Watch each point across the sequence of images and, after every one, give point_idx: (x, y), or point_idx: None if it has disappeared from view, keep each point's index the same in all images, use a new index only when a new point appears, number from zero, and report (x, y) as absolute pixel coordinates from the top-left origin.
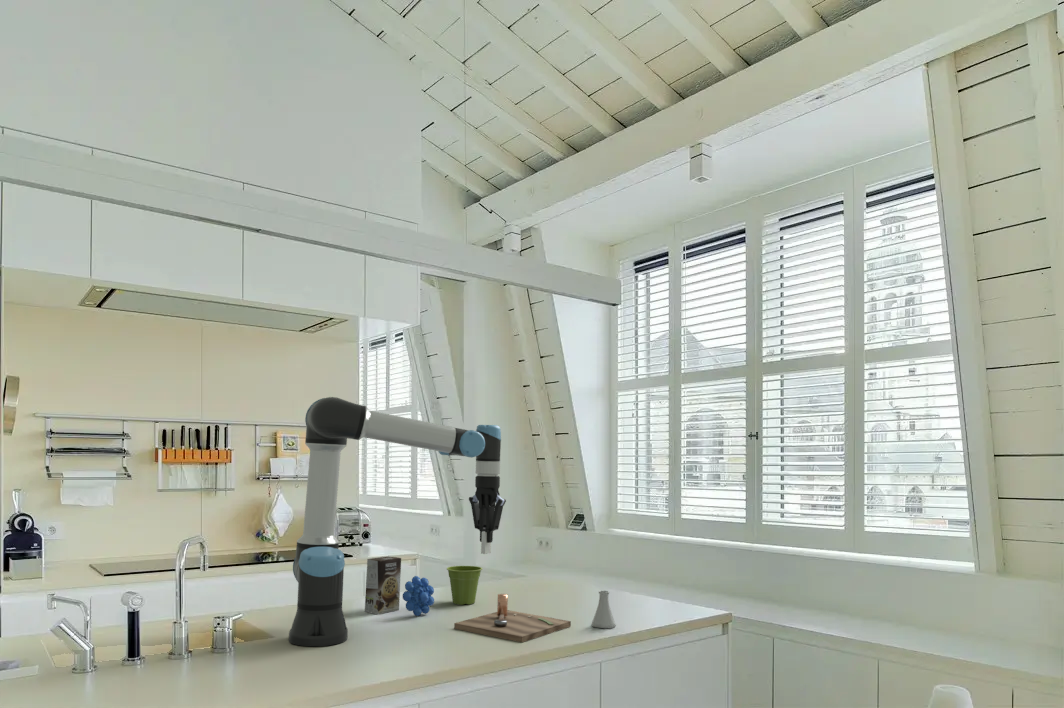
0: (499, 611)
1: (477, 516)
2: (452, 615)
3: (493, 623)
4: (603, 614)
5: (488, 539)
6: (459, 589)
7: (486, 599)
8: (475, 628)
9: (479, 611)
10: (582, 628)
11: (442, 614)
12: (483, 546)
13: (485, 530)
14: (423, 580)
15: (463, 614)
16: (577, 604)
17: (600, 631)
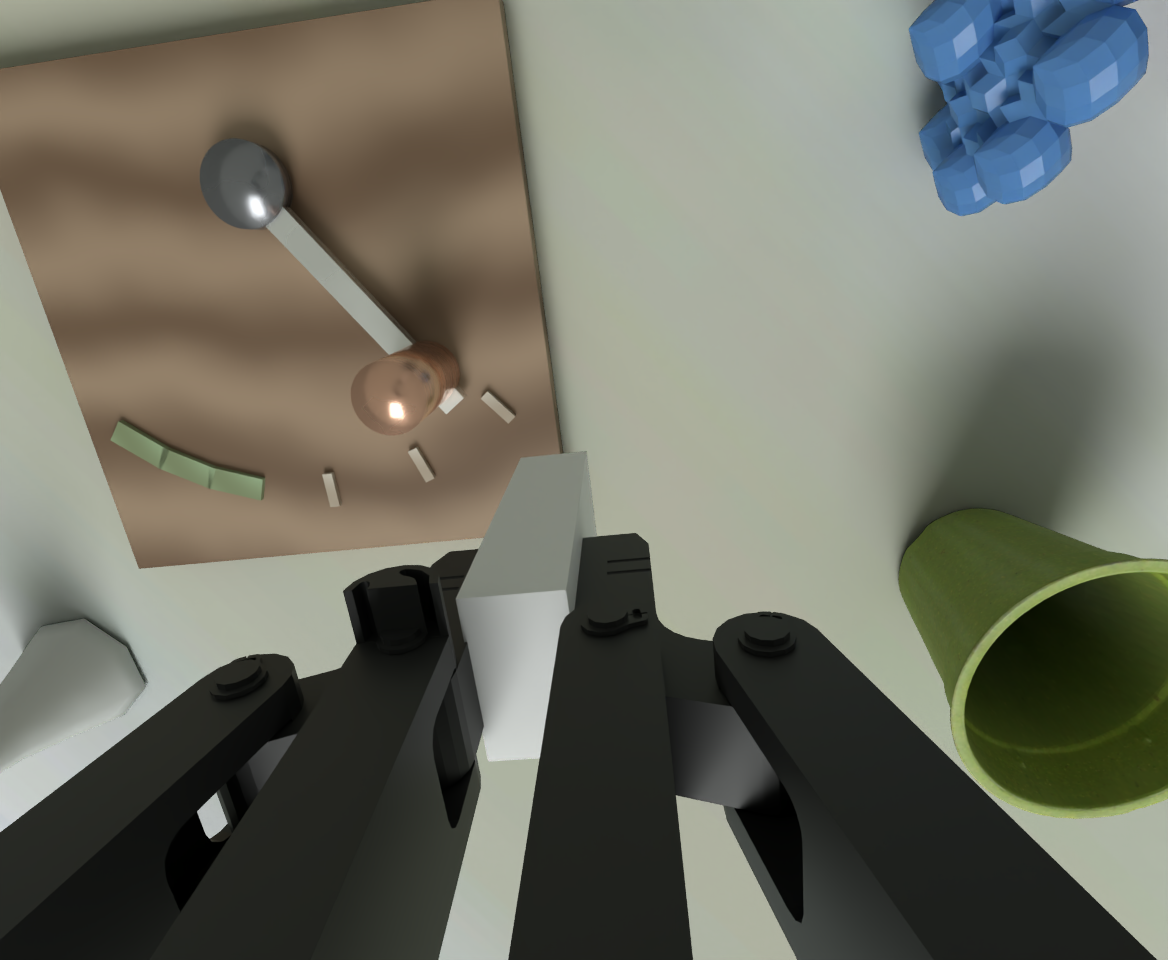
0: (413, 345)
1: (879, 956)
2: (783, 275)
3: (333, 201)
4: (3, 680)
5: (452, 574)
6: (992, 540)
7: (920, 716)
8: (317, 21)
9: (736, 475)
10: (97, 568)
11: (852, 245)
12: (537, 486)
13: (401, 583)
14: (1091, 24)
15: (751, 348)
16: (497, 906)
17: (6, 581)
